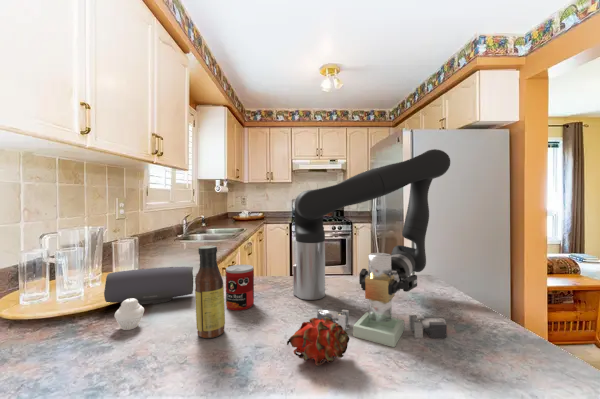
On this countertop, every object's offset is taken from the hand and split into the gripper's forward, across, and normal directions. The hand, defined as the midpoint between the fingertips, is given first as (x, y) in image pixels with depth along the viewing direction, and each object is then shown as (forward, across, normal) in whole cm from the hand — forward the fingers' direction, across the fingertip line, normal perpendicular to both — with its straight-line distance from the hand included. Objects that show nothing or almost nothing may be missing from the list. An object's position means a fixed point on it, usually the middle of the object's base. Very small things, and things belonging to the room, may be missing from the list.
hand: (376, 288), depth 64 cm
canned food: (+2, -39, +11) cm, 41 cm away
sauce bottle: (+18, -33, +11) cm, 39 cm away
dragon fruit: (+15, -7, +11) cm, 20 cm away
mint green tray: (-2, 0, +11) cm, 11 cm away
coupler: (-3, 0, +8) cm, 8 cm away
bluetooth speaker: (+13, -64, +11) cm, 66 cm away
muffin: (+26, -52, +10) cm, 59 cm away
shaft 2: (-8, +9, +11) cm, 16 cm away
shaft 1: (0, -11, +11) cm, 16 cm away
